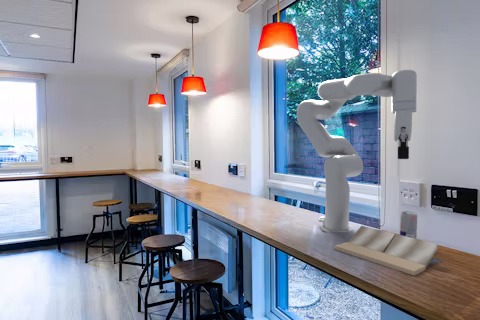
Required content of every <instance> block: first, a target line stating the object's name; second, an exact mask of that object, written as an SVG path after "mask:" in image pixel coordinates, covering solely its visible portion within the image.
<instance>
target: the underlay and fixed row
mask: <svg viewBox="0 0 480 320" xmlns="http://www.w3.org/2000/svg"><path fill="white" fill-rule="evenodd" d="M334 250H335V251H338V253H344V254H347V255H348V256H349V257H352V259H357V260H358V258H359V259H360V260H361V261H362V260H365V261H367V262H368V261H369V262H368V263H370V262H371V263H374V264H375V265H376V266H378V265H380V266H384V267H383V268H386V267H387V268H389V269H393V270H396V271H399V272H400V273H399V274H402V275H403V276H406V277H410V278H411V277H412V276H416V275H418V274H420V273H422V272H424V271H426V270H427V269H428V268H429V269H430V266H431V267H433V266H434V265H437V264H440V263H441V262H444V260H442V259H440V258H435V257H432V259H431V261H430V262H429V265H430V266H429V265H428V266H427V268H426V265H423V264H419V263H416V262H413V261H409V260H406V259H403V258H400V257H396V256H393V255H390V254H386V253H383V252H380V251H376V250H373V249H370V248H366V247H363V246H360V245H356V244H353V243H350V242H349V241H346V242H343V243H338V244H335V245H334Z"/></svg>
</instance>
